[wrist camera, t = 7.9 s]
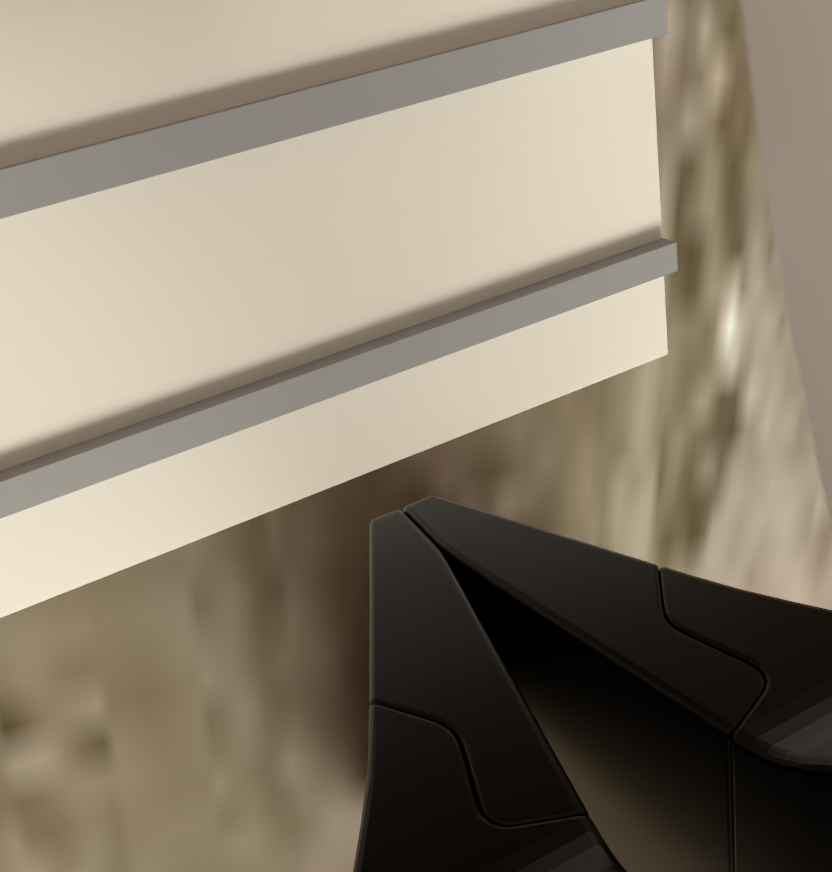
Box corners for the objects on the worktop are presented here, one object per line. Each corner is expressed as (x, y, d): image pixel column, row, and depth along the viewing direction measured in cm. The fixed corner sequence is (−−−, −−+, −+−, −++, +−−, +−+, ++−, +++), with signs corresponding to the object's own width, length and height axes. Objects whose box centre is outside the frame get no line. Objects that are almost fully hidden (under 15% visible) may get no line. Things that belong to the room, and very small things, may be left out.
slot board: (608, 326, 25) (681, 360, 22) (10, 551, 21) (-2, 632, 18) (568, -114, 19) (660, -149, 16) (-278, 69, 15) (-370, 66, 12)
